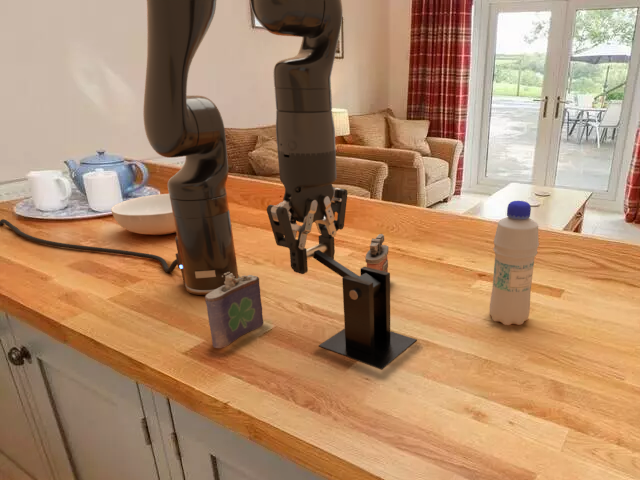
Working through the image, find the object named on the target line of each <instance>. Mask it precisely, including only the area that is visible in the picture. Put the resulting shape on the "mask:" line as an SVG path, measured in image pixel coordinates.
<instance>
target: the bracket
mask: <svg viewBox="0 0 640 480" xmlns="http://www.w3.org/2000/svg"><path fill="white" fill-rule="evenodd" d="M359 271H360V276H361V275H363V274H364V273H367V274H368V275H370V276H372V277H373V278H375V279H376V280H378V281H379V282H381V286H380V289H379V292H378V295H377V297H375V298H374V299H373V282H369V281H365V280H362V279H358V278H354V277H350V276H345V277H341V280H342V281H341V282H342V299H343V300H342V301H343V319H344V328H343V329H341V330H340V331H339V332H337V333H335V334H334V335H332V336H331V337H329V338H327V339H326V340H324V341H323V342H321V343H319V345H318V348H322V349H324V350H327V351H330V352H332V353H335V354H337V355H340V356H344V357H346V358H349V359H352V360H355V361H356V362H359V363H362V364H365V365H368V366H371V367H373V368H376V369H379V370H384V369H385V368H386V367H387V366H389V365H390V364H391V363H392V362H394V361H395V360H396V359H397V358H399V357H400V355H402V354H403V353H404V352H406V350H407V349H409V348H410V347H412V346H413V345H414V344H415V343H416V342H417V341H418V339H416V338H413V337H410V336H407V335H404V334H401V333H397V332H394V331H392V330H391V272H385V271H381V270H377V269H373V268H369V267H367V266H363V267H361V268H360V270H359Z"/></svg>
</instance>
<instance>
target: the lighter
mask: <svg viewBox="0 0 640 480" xmlns="http://www.w3.org/2000/svg"><path fill="white" fill-rule="evenodd" d="M384 242H385V235H384V234H383V233H379V234H377V236H376V237H375V238H371V240H370V244H369V250H368V251H367V252H366V254H365V256H364V257H365V263H366V267H369V268H373V269H377V270H381V271H385V272H388V268H389V260H388V258H389V257H388V255H389V252H390V251H389V245H387V244H384Z"/></svg>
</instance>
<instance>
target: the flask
mask: <svg viewBox="0 0 640 480" xmlns="http://www.w3.org/2000/svg"><path fill="white" fill-rule="evenodd" d="M229 273H230V272H227V273H224V275H227V274H229ZM222 277H223V275H222ZM225 277H226V279H225V282H224V283H225V285H223V286H221V287H219V288H217V289H215V290H214V291H212V292H210V293H208V294H207V295H204V299H205V305H206V311H207V317H208V325H209V330H210V336H211V342H212V347H213V348H215V349H222V348H223V349H224V348H225V347H228V346H230V344H232V343H233V342H235V341H236V340H238V339H240V337H242V336H244V335H245V334H247V333H250V332H252V331H254V330H256V329H259V328H261V327H263V326H264V317H263V305H262V298H261V287H260V278H259V277H258V275H253V274H248V275H242V276H241V277H239V278H238V279H236V278H234V277H235V276H233V274H232V273H230V274H229V275H227V276H225Z"/></svg>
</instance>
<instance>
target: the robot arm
mask: <svg viewBox="0 0 640 480" xmlns="http://www.w3.org/2000/svg"><path fill="white" fill-rule="evenodd" d="M249 2H250V7H251V11H252V14H253V16H254V18H255V20H256V21H257V23H259V24H260V25H261V27H262V28H263V29H264V30H266V31H267V32H268V33H270V34H272V35H276V36H280V37H283V36H284V37H297V38H302V39H301V43H300V47H299V50H298V52H297V54H296V55H295V56H292V57H289V58H284V59H281V60H279V61H277V62H276V63H275V64H274V67H273V72H272V73H273V75H272V77H273V87H274V99H275V110H276V111H275V112H276V113H275V115H276V116H275V118H276V119H275V138H276V147H277V148H276V149H277V158H278V159H277V161H278V171H279V180H280V182H281V184H282V185H283V187H284V195H283V197H282V198H283V199H282V201H281V202H279V203H277V204H276V205H275V204H268V205H267V207H266V213H267V216H268V219H269V223H270V227H271V230H272V232H273V236H274V240H275V244H276V245H277V246H278V247H283V248H287V249H288V250H289V259H290V260H289V261H290V268H291V270H293V272H294V273H296V274H300V275H305V274H307V273H308V271H309V268H308V260H307V251H306V249H307V248H306V243H307V240H308V239H307V238H308V235H309V234H311V231H312V229H313V223H314V224H315V225H316V226H315V227H316V230H317V231H318V233H319V235H318V244H320V243H323V242H324V243H326V244H327V246H328V251H327V252H324V254H326V255H328V256H329V257H331V258H332V259H334V260H335V253H336V252H335V251H336V249H335V237H336V236H337V232H338V231H339V230H341V231H342V230H343V229H344V227H345V220H346V212H347V204H348V203H347V202H348V190H347V189H346V188H340V187H335V186H333V184H334V183H335V182H336V181H337V179H338V178H337V177H338V176H337V151H336V149H337V148H336V129H335V122H334V116H333V101H332V100H333V99H332V98H333V97H332V81H331V80H332V79H331V78H332V71H333V69H334V68H333V67H334V63H335V58H336V53H337V48H338V44H339V43H338V42H339V38H340V34H341V33H340V32H341V30H342V29H341V28H342V22H343V2H342V0H249ZM216 9H217V0H146V12H147V13H146V27H147V28H146V29H147V30H146V32H147V33H146V34H147V35H146V66H145V81H144V82H145V83H144V92H143V93H144V95H143V109H142V110H143V113H142V114H143V115H142V116H143V126H144V132H145V136H146V139H147V141H148V143H149V145H150V147H151V148H152V150H154V152H155V153H156V154H158V155H159V156H161V157H162V158H163V157H164V158H167V159H173V158H182V157H185V160H184V163H183V165H182V167H181V168H180V169H179V170H178V171H177V172H176V173H175V174H174V175H173V176H171V177H170V178H169V179H168V181H167V191H168V194H169V197H170V202H171V207H172V213H173V217H174V223H175V228H176V232H175V234H176V236H175V238H174V240H175V245H176V246H175V247H176V251H177V253H175V259H174V260H173V261H172V262H171V264H170V265H168V262H167V261H166V259H164V258H163V257H161V256H160V255H156V254H151V253H147V252H146V253H145V252H137V251H131V250H123V249H116V248H107V247H97V246H88V245H80V244H79V245H78V244H73V243H72V244H71V243H64V242H57V241H52V240H47V239H42V238H39V237H36V236H32V235H30V234H27V233H25V232H24V231H22V230H21V229H19V228H18V227H17V226H15V225H13V224H12V223H11V222H10V221H8V220H7V219H3V218H2V219H0V226H4V225H6V226H7V227H8V228H9V229H11V230H12V231H13V232H15V234H17V235H19V236H21V237H22V238H25V239H26V240H29V241H32V242H35V243H38V244H42V245H47V246H51V247H52V246H53V247H57V248H64V249H71V250H81V251H89V252H97V253H108V254H114V255H115V254H116V255H123V256H129V257H130V256H131V257H137V258H142V259H143V258H145V259H149V260H153V261H154V260H155V261H158V262H159V263H160V264H161V266H162V268H163V271H164V272H165V273H168V274H169V273H172V272H174V270H175V269H176V267H177V268H178V269H180V271H181V277H182V282H183V286H185V290H186V291H187V292H188V293H190V294H192V295H197V296H206V295H207V294H208V293H210V292H212V291H214V290H215V289H217V288H219V287H221V286H223V285H225V283H224V282H225V279H226V277H225V276H227V275H229V274H230V273H232V274H233V276H235V277H234V278H236V279H238V278H240V275H239V270H238V263H237V256H236V255H237V254H236V247H235V241H234V235H233V228H232V220H231V213H230V212H231V211H230V205H229V199H228V192H227V181H228V178H229V162H228V151H227V150H228V149H227V139H226V138H227V137H226V129H225V123H224V120H223V116H222V115H221V112H220V109H219V108H218V106H217V105H216V104H215V103H214V102H213V101H212V100H211V99H210V98H209V97H207V96H203V95H199V94H198V95H195V94H194V95H187V93H188V92H187V91H188V79H189V73H190V68H191V65H192V62H193V59H194V57H195V55H196V53H197V51H198V50H199V47H200V46H201V44H202V42H203V41H204V39H205V37H206V35H207V33H208V31H209V29H210V27H211V25H212V22H213V20H214V17H215V14H216ZM336 213H337V217H336V218H335V216H336ZM297 222H298V223H300V224H301V223H302V224H301V225H300V224H297ZM297 234H298V235H297ZM227 272H230V273H229V274H227V275H224V273H227ZM222 275H223V277H222Z"/></svg>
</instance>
